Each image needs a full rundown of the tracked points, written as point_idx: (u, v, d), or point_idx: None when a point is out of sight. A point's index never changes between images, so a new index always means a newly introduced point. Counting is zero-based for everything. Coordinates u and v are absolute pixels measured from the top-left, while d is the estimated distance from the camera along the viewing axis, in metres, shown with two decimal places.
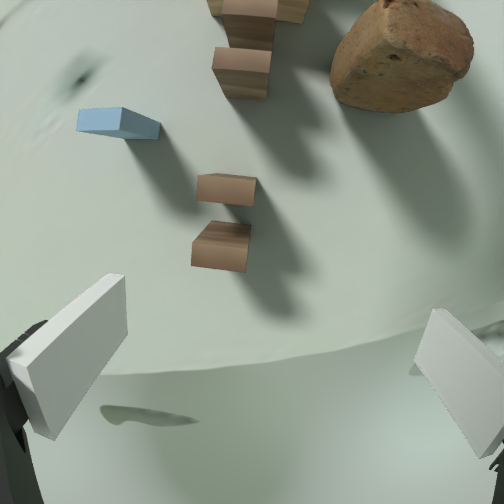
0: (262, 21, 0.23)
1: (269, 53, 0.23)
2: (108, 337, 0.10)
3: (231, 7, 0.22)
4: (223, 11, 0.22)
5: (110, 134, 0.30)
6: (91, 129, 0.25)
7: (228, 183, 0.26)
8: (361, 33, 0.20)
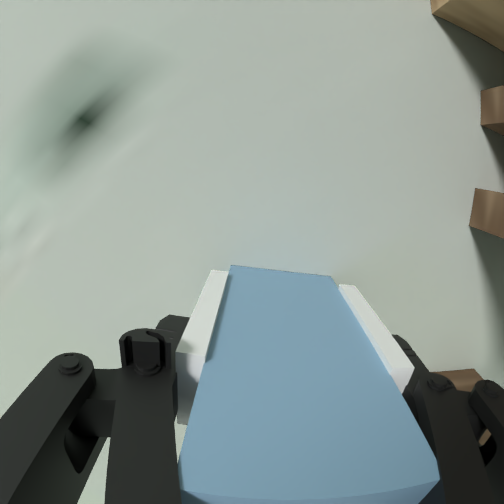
0: None
1: None
2: None
3: None
4: None
5: None
6: None
7: None
8: None
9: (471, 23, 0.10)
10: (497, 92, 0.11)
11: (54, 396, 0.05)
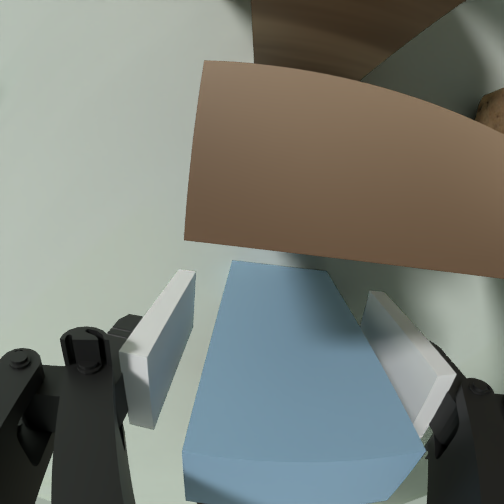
0: None
1: None
2: (185, 328, 0.12)
3: None
4: None
5: None
6: None
7: None
8: None
9: None
10: None
11: (5, 389, 0.05)
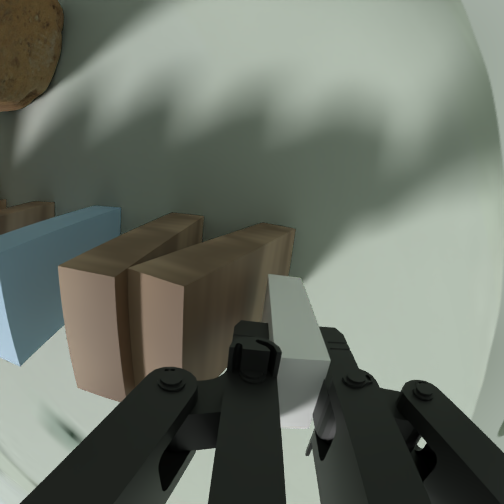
0: None
1: None
2: None
3: None
4: None
5: None
6: (8, 328, 0.09)
7: (75, 332, 0.09)
8: None
9: None
10: None
11: (154, 414, 0.05)
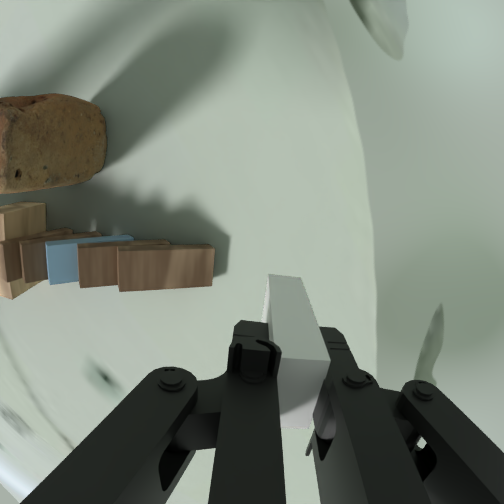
0: (10, 252, 0.30)
1: (19, 243, 0.31)
2: None
3: (4, 275, 0.30)
4: (6, 280, 0.30)
5: None
6: (48, 270, 0.32)
7: None
8: None
9: None
10: None
11: (153, 414, 0.05)
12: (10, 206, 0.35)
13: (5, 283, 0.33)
